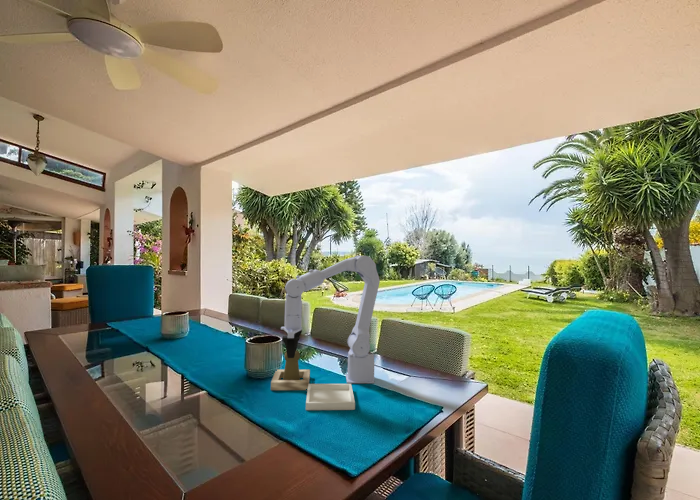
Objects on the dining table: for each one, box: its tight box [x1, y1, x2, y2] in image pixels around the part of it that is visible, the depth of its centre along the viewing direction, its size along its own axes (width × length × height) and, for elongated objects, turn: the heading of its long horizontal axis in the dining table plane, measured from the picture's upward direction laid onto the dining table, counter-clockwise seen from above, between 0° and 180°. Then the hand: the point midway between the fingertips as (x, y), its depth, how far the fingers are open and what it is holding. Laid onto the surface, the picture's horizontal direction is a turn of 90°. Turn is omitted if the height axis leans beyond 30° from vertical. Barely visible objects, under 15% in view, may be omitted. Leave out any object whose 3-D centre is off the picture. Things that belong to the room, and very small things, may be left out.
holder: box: [270, 369, 311, 391], centre depth 115 cm, size 12×12×2 cm
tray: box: [305, 383, 356, 411], centre depth 103 cm, size 14×14×2 cm
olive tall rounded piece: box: [282, 349, 301, 380], centre depth 115 cm, size 6×6×11 cm
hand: (292, 354), depth 115 cm, fingers open, 7 cm apart
